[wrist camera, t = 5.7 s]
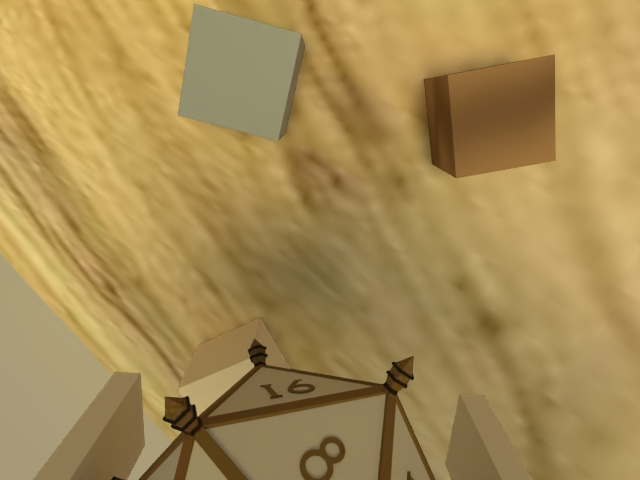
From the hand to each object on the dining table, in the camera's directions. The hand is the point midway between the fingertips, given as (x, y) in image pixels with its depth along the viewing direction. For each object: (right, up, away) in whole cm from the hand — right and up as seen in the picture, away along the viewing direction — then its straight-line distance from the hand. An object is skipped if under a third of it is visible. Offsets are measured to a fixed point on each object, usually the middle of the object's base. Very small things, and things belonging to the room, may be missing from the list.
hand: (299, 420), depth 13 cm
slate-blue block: (-3, +15, +12) cm, 19 cm away
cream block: (-5, -3, +18) cm, 18 cm away
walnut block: (+10, +13, +12) cm, 20 cm away
